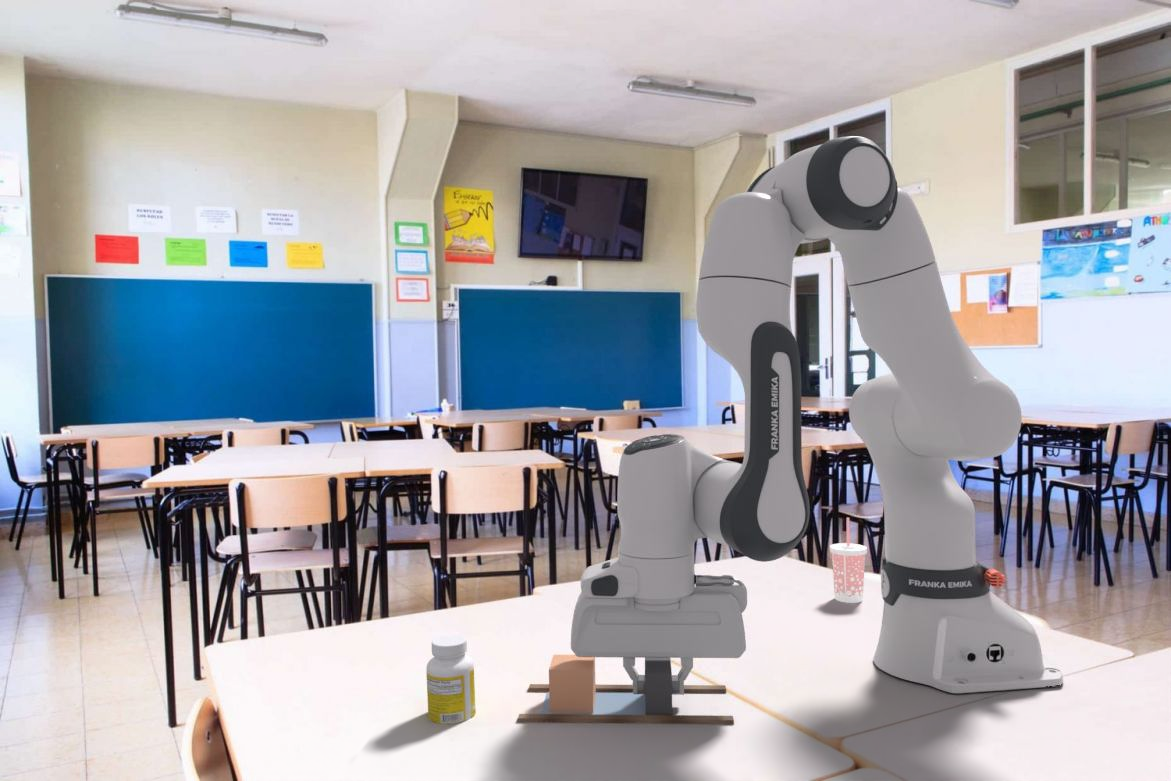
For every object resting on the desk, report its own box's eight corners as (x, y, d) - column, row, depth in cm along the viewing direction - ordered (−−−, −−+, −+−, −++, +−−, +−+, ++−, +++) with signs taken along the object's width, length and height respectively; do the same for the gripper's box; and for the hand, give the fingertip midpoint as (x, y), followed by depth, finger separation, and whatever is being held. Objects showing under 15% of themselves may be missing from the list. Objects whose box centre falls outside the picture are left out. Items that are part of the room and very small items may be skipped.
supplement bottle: (453, 710, 101) (451, 629, 100) (485, 722, 97) (483, 638, 97) (418, 726, 96) (415, 641, 96) (449, 739, 93) (447, 651, 93)
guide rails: (725, 698, 102) (725, 685, 102) (734, 734, 92) (733, 720, 92) (530, 696, 104) (530, 684, 104) (518, 732, 94) (517, 718, 94)
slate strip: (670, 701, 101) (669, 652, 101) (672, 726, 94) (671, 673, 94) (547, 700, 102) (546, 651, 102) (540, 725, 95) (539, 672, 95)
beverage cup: (871, 596, 144) (870, 516, 144) (862, 606, 139) (861, 522, 139) (835, 592, 148) (834, 513, 147) (825, 601, 143) (824, 519, 142)
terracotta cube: (595, 695, 101) (594, 654, 101) (593, 713, 96) (592, 669, 96) (554, 695, 101) (553, 654, 101) (549, 712, 96) (548, 669, 96)
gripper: (743, 568, 100) (745, 683, 100) (572, 568, 101) (574, 681, 102) (750, 582, 94) (751, 704, 94) (567, 582, 95) (570, 702, 96)
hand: (658, 692), depth 98 cm, fingers closed on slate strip, 3 cm apart
